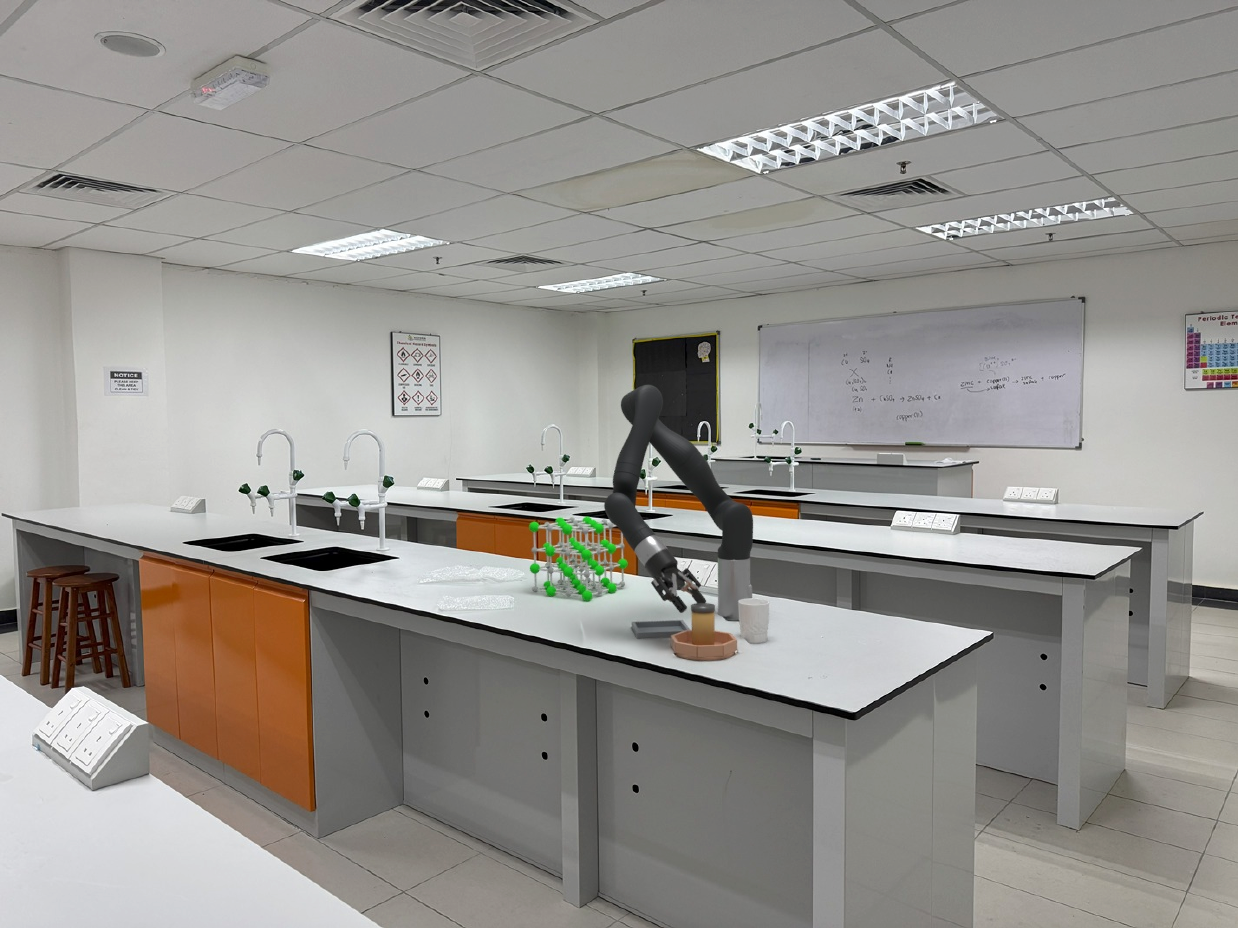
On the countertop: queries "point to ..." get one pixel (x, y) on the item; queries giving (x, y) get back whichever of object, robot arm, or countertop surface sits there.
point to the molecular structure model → (576, 550)
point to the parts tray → (658, 628)
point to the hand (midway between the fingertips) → (694, 607)
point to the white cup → (754, 619)
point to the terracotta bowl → (704, 646)
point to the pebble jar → (703, 624)
